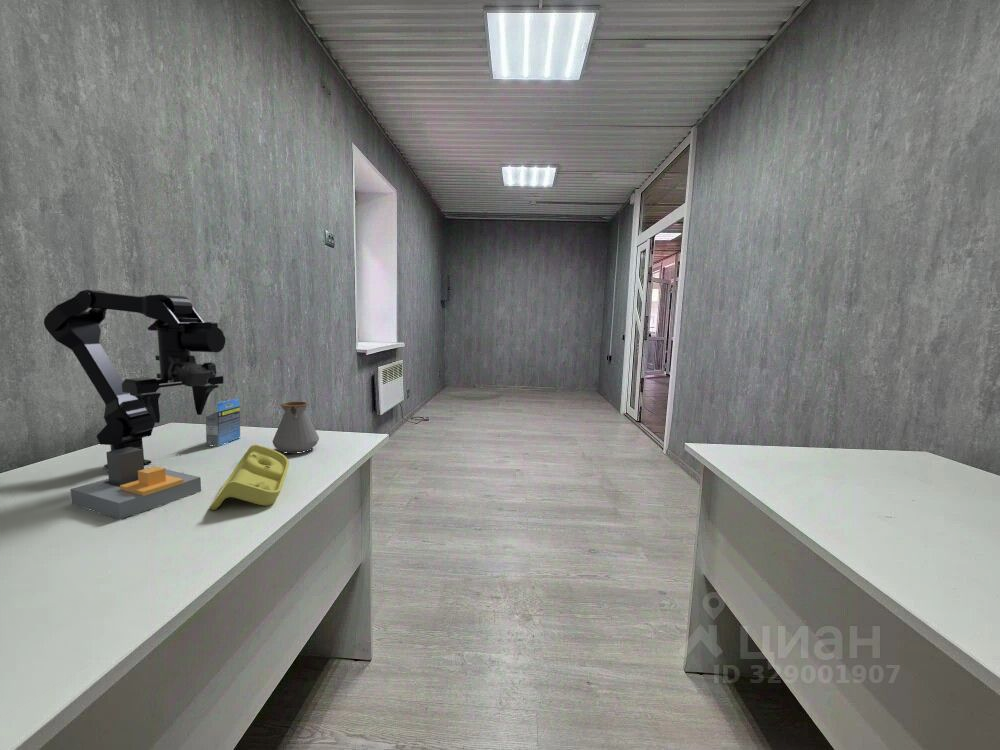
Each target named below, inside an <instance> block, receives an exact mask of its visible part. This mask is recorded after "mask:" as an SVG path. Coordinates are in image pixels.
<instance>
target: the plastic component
mask: <svg viewBox="0 0 1000 750" xmlns="http://www.w3.org/2000/svg"><path fill="white" fill-rule="evenodd" d="M289 467H290V460H289V459H288V458H287V456H286V455H285V454H284V453H282V452H279V451H277V450H275V449H272V448H269V447H266V446H264V445H260V444H253V445H250V447H249V448H248V449H247V451H246V452H245V453H244V454H243V456H242V457H241V459H240V460H239V462H238V463H237V465H236V467H235V468H234V469H233V470H232V472H231V473H230V475H229V477H228V478H227V480H226V481H225V483H224V484H223V486H222V487H221V488H220V490H219V492H218V493H217V495H216V496H215V497H214V499H213V501H212V503H211V504H210V506H209V508H208V509H210V510H212V511H215V510H217V509H218V508H219V507H220V506H221V504H222V503H223V502H224V500H225V499H227V498H235V499H238V500H241V501H245V502H249V503H251V504H255V505H259V506H263V507H264V506H265V507H266V506H270V505H271V506H272V504H275V502H276V500H277V499H278V497H279V494H280V493H281V491H282V489H283V486H284V482H285V478H286V476H287V473H288V470H289Z"/></svg>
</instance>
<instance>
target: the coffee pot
mask: <svg viewBox="0 0 1000 750" xmlns="http://www.w3.org/2000/svg"><path fill="white" fill-rule="evenodd" d="M308 405H309V403H308V402H307V401H290V402H288V401H287V402H284V403H282V404H280V407H281V408H282V409H283V410H284V413H283V415H282V418H281V420H280V422H279V425H278V427H277V429H276V432H275V434H274V437H273V439H272V445H273V446H274V448H276V449H277V450H278V451H280V452H281V451H282V452H287V453H297V452H303V451H307V450H310V449H311V448H312V449H313V448H314V447H315V446H316V445H317V444H318V442H319V439H320V435H319V434H318V432H317V430H316V429H315V427H314V424H313V422H312V420H311V418H310V417H309V414H308V413H307V406H308ZM312 449H311V450H312ZM311 450H310V451H311ZM282 452H281V453H282Z"/></svg>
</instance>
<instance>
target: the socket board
mask: <svg viewBox="0 0 1000 750" xmlns="http://www.w3.org/2000/svg"><path fill="white" fill-rule="evenodd" d="M154 466H155V465H154ZM154 466H152V467H154ZM147 468H148V467H146V468H145V469H147ZM165 474H166V475H168V476H172V477H177V478H181V479H184V483H183V484H180V485H176V486H173V487H170V488H167V489H164V490H161V491H158V492H155V493H151V494H148V495H145V496H142V495H138V494H134V493H131V492H127V491H123V490H120V487H118V486H114V485H110V484H109V478H106V479H103V480H98V481H95V482H91V483H88V484H84V485H80V486H76V487H72V488H70V495H71V496H70V497H71V505H73V504H74V506H76V505H77V507H79V506H80V508H83V507H84V508H83V509H86V508H87V510H89V509H91V510H90V511H92V510H94V511H93V512H95V511H96V512H95V513H98V512H99V514H102V515H105V516H108V515H109V517H111V516H112V518H114V517H115V519H117V518H118V520H123V519H126V518H128V516H129V517H132V516H135V515H138V514H141V513H143V512H146V511H148V510H152V509H155V508H157V507H160V506H163V505H166V504H170V503H171V502H174V501H178V500H180V499H183V498H186V497H190V496H191V494H192V495H194V493H195V494H197V492H198V493H200V491H201V492H202V481H201V477H200V476H196V475H194V474H193V475H192V474H188V473H185V472H180V471H174V470H171V469H166V468H165ZM140 512H141V513H140ZM137 513H138V514H137ZM134 514H135V515H134ZM131 515H132V516H131ZM125 517H126V518H125ZM122 518H123V519H122Z"/></svg>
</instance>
